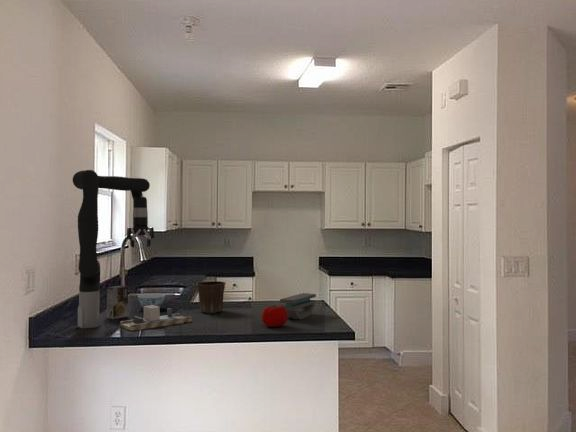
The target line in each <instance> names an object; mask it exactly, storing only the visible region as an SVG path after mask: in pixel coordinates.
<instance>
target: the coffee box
mask: <svg viewBox="0 0 576 432" xmlns="http://www.w3.org/2000/svg"><path fill="white" fill-rule="evenodd" d="M126 317H127V318H128V317H129V287H128V286H126V285H116V286H109V287H106V318H107V319H110V320H115V319H121V318H126Z"/></svg>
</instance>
